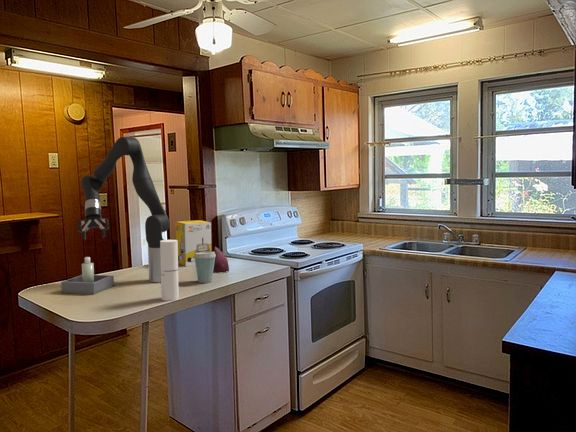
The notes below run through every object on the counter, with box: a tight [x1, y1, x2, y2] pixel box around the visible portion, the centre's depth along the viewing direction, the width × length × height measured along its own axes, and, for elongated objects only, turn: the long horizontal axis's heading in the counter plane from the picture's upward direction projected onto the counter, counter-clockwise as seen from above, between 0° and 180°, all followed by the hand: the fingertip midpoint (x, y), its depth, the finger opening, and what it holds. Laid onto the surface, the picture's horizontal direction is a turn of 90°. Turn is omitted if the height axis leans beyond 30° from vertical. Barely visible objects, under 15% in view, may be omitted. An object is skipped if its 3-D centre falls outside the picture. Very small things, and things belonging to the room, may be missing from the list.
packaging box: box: [174, 219, 213, 268], centre depth 271 cm, size 16×16×25 cm
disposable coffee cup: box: [194, 251, 216, 284], centre depth 223 cm, size 11×11×15 cm
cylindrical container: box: [160, 239, 180, 302], centre depth 192 cm, size 7×7×25 cm
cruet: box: [81, 256, 95, 283], centre depth 208 cm, size 5×5×14 cm
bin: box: [60, 274, 115, 295], centre depth 208 cm, size 16×16×5 cm
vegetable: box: [213, 246, 230, 274], centre depth 249 cm, size 10×10×15 cm
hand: (94, 238), depth 223 cm, fingers open, 8 cm apart
